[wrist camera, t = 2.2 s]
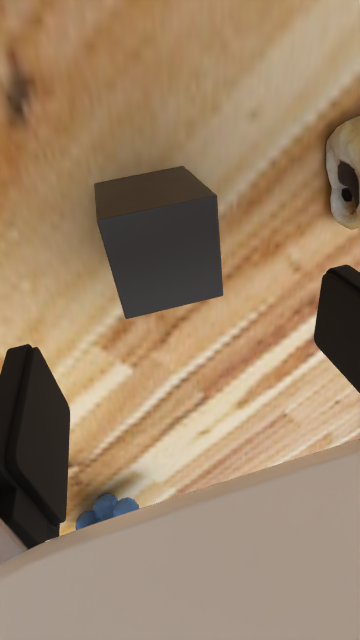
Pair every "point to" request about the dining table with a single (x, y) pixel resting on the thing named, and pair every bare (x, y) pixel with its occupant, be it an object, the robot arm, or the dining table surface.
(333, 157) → the pastry
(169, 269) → the black block
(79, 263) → the dining table surface
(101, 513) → the grapes
